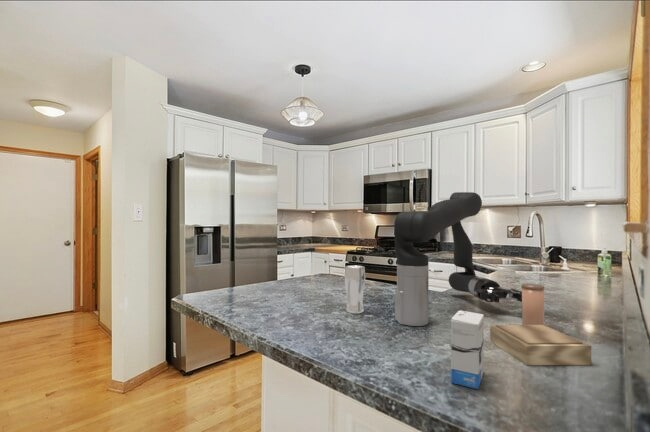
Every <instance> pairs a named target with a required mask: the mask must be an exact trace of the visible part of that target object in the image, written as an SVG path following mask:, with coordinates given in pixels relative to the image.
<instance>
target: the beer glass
mask: <svg viewBox="0 0 650 432" xmlns="http://www.w3.org/2000/svg"><path fill="white" fill-rule="evenodd" d="M365 269H366V267H365V266H363V265H358V264H357V265H356V264H355V265H354V264H353V265H352V264H351V265H345V267H344V288H345V294H346V306H345V312H346V313H349V314H362V313H364V309H365V308H364V303H363V300H364V292H365V288H366V270H365Z"/></svg>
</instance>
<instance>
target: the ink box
mask: <svg viewBox="0 0 650 432" xmlns="http://www.w3.org/2000/svg"><path fill="white" fill-rule="evenodd" d="M484 316H485V315H484V314H483V313H479V312H478V313H477V312H473V311H466V310H458V311H456V313H455V314H454V315H453V316H452V317H451V322H450V327H451V328H450V338H451V340H450V341H451V343H450V346H451V347H450V350H451V351H450V353H451V354H450V358H451V359H450V362H451V363H450V383H451V384H455V385H458V386H463V387H466V388H470V389H474V390H479V388H480V385H481V382H482V379H483V375H484V355H485V354H484V353H485V352H484V351H485V350H484V348H485V347H484V319H485V318H484Z"/></svg>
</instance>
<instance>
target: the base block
mask: <svg viewBox="0 0 650 432" xmlns="http://www.w3.org/2000/svg"><path fill="white" fill-rule="evenodd" d="M489 327H490V328H489V333H490V334H489V337H490V338H489V341H490V342H491V343H492V344H494V345H496V346H497V347H499V348H500V349H501V350H503V351H504V352H506V353H507V354H509V355H510V356H513V358H515V359H517V360H518V361H519V362H521V363H523V364H524V365H526V366H592V345H590V344H588V343H586V342H584V341H581V340H579V339H577V338H574V337H572V336H570V335H568V334H565V333H563V332H561V331H559V330H557V329H554V328H552V327H549V326H547V325H545V324H544V325H522V324H490V325H489Z"/></svg>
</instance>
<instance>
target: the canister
mask: <svg viewBox="0 0 650 432" xmlns="http://www.w3.org/2000/svg"><path fill="white" fill-rule="evenodd" d="M545 290H546V288H545V285H542V284H539V283H527V282H524V283H521V291H522V302H521V325H545Z"/></svg>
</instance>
